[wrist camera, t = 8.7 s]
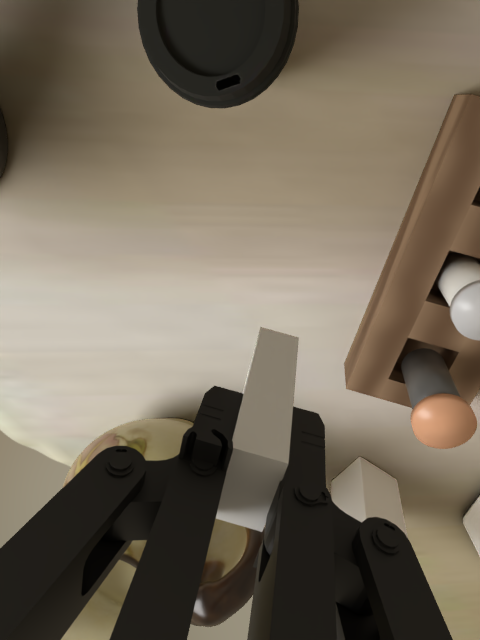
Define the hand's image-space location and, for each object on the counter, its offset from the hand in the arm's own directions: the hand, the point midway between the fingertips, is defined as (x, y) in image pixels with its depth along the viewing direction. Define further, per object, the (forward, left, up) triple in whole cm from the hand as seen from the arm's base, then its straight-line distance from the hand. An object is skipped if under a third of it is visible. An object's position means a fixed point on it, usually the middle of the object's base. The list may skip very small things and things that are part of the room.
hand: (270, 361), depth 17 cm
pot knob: (+16, -11, -25) cm, 31 cm away
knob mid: (+16, -2, -28) cm, 32 cm away
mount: (+16, -2, -30) cm, 34 cm away
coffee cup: (-8, +12, -30) cm, 33 cm away
